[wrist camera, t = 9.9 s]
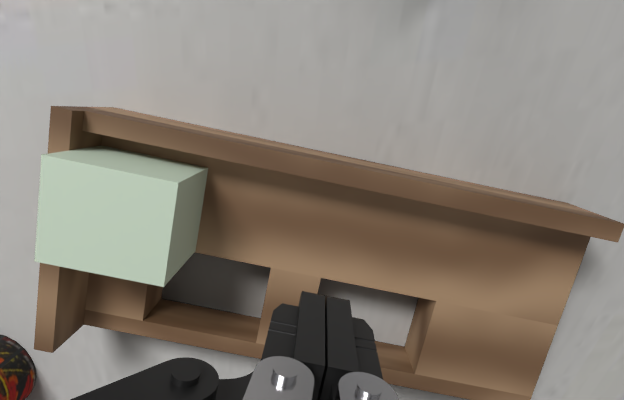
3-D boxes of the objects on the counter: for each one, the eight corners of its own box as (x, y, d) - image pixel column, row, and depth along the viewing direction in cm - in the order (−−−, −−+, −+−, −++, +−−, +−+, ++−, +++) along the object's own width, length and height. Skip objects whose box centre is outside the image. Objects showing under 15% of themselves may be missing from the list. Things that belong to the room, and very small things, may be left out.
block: (101, 145, 23) (41, 154, 18) (208, 167, 23) (178, 183, 18) (93, 230, 24) (34, 261, 19) (195, 251, 24) (163, 287, 19)
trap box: (113, 107, 25) (51, 106, 19) (566, 202, 26) (640, 229, 20) (93, 299, 28) (33, 349, 22) (504, 379, 29) (553, 448, 23)
